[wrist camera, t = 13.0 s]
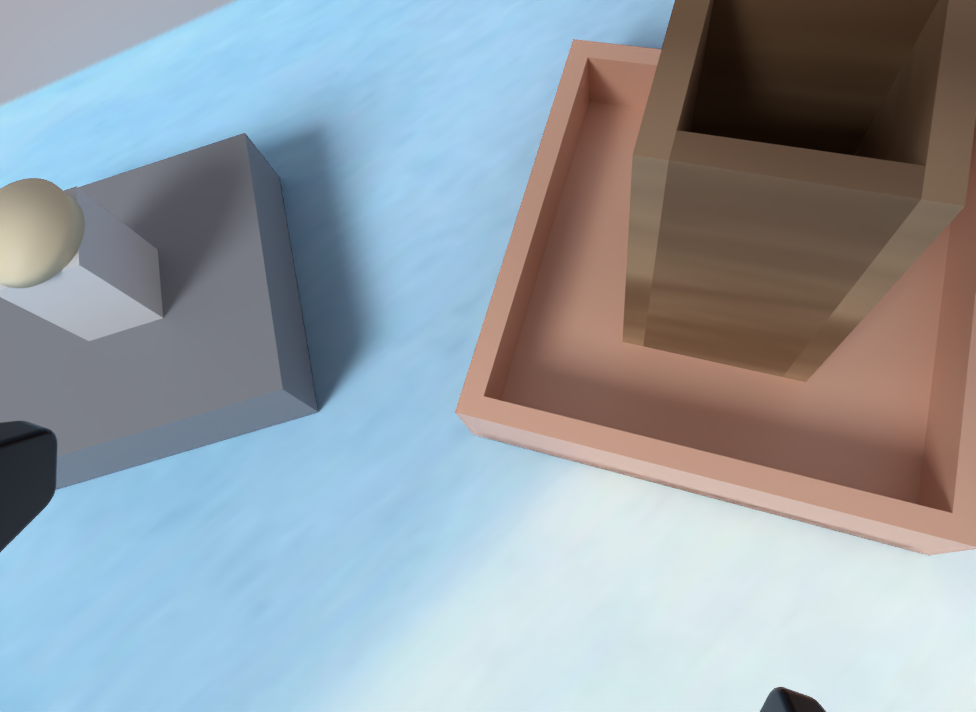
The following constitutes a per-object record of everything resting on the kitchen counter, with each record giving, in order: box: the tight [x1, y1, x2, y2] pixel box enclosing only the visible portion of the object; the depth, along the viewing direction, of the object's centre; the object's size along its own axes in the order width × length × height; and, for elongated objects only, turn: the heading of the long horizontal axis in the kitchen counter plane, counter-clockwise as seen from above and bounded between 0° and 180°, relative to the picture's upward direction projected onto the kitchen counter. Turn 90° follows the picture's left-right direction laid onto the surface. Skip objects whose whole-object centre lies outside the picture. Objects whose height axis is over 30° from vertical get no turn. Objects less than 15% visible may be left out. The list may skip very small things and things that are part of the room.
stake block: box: [0, 133, 318, 490], centre depth 20 cm, size 9×9×7 cm
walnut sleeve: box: [622, 0, 976, 382], centre depth 16 cm, size 6×5×9 cm
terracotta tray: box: [455, 39, 976, 555], centre depth 19 cm, size 12×12×3 cm
